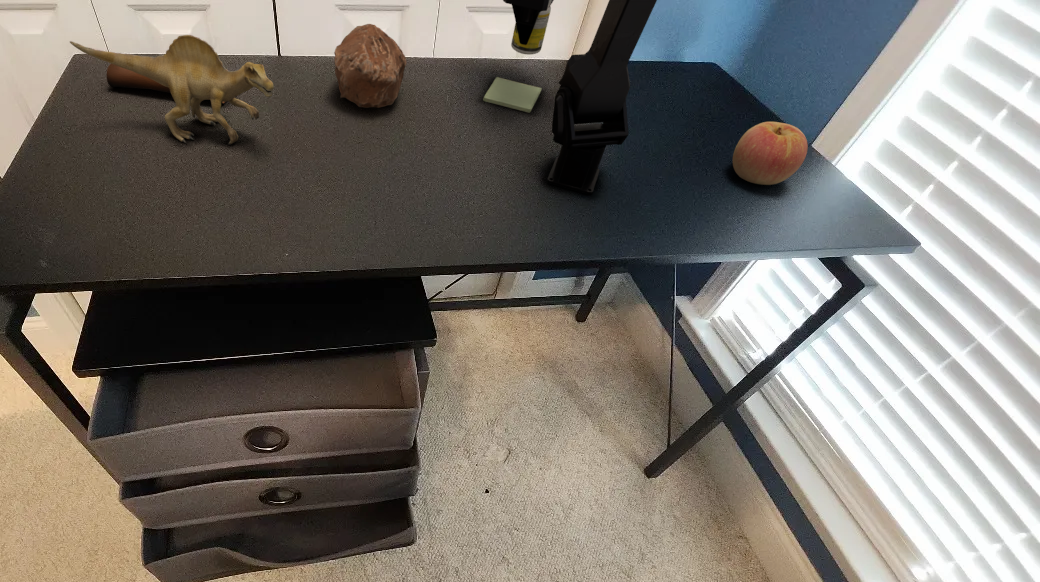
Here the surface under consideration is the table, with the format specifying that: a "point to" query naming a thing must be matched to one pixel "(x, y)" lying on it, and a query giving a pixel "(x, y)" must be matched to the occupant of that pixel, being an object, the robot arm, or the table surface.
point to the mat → (512, 94)
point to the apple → (769, 153)
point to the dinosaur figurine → (193, 80)
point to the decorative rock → (369, 67)
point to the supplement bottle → (532, 35)
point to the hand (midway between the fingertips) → (527, 37)
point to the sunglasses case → (132, 80)
